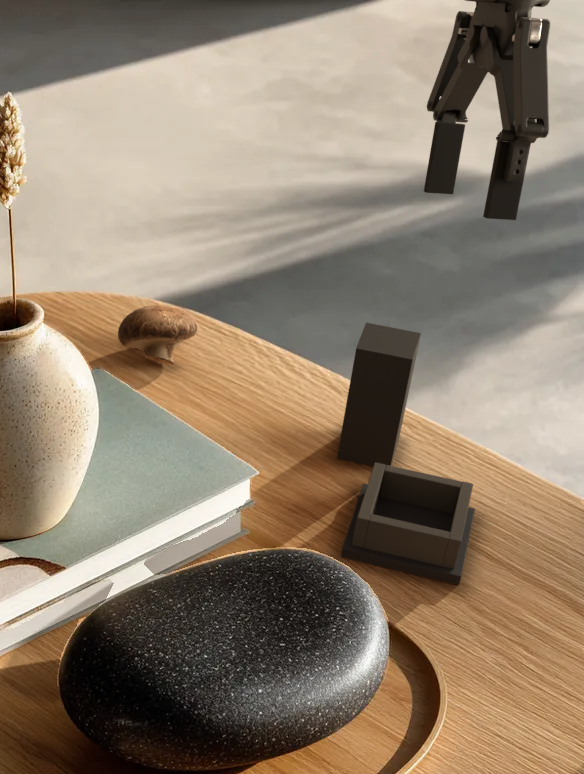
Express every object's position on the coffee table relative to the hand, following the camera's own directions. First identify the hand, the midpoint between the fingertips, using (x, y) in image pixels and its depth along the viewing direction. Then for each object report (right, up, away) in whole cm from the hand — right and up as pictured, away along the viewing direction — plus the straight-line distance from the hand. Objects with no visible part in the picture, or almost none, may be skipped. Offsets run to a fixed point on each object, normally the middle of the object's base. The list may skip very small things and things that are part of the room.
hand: (467, 205), depth 122 cm
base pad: (-7, -30, -6) cm, 32 cm away
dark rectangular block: (-8, -22, +4) cm, 24 cm away
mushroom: (-28, -12, +17) cm, 35 cm away
